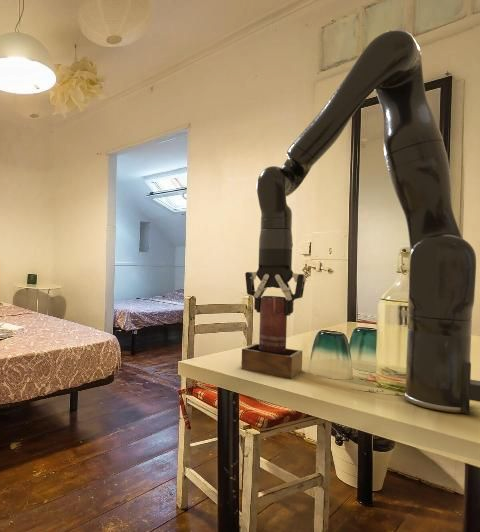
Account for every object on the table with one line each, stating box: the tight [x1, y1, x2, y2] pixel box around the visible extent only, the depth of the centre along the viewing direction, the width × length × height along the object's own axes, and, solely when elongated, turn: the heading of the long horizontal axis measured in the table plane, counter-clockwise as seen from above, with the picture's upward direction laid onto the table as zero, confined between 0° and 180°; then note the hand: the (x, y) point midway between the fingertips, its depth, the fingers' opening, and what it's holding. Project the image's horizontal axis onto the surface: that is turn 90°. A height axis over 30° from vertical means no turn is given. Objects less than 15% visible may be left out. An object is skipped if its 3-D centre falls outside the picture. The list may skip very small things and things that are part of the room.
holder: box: [240, 343, 303, 380], centre depth 100 cm, size 12×10×5 cm
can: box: [258, 295, 288, 354], centre depth 100 cm, size 6×6×14 cm
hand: (273, 313), depth 100 cm, fingers closed on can, 6 cm apart
